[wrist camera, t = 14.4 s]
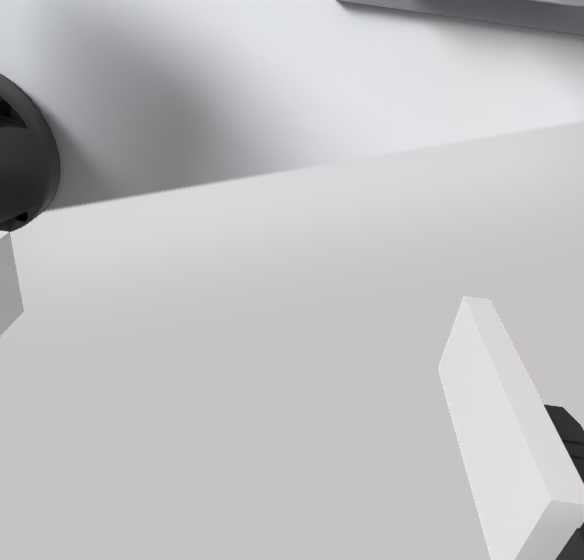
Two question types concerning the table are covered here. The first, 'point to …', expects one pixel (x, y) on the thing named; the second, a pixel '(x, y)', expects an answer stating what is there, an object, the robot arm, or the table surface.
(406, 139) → the table surface
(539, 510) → the robot arm
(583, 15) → the socket dock
